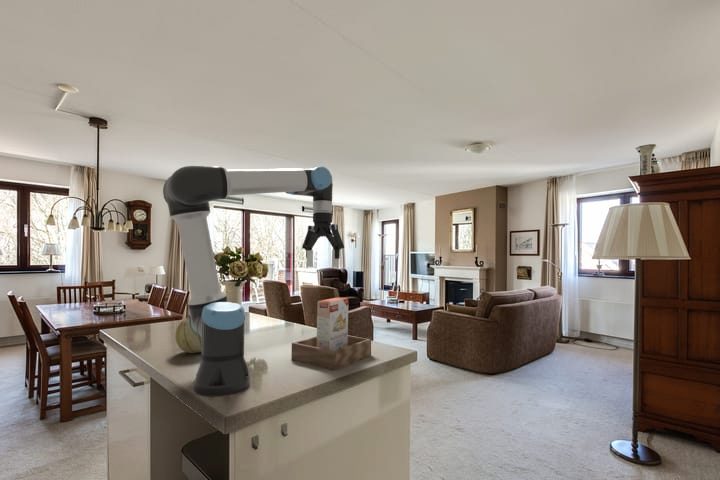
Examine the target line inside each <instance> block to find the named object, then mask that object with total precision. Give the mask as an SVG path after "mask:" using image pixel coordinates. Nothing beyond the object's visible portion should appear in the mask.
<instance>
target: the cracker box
mask: <svg viewBox="0 0 720 480" xmlns="http://www.w3.org/2000/svg"><path fill="white" fill-rule="evenodd" d="M316 308H317V309H316V312H317V313H316V336H317V346H316V347H318V348H323V349H328V350H332V351H335V350H338V349H341V348H344V347H346V346H348V335H349V298H346V297H333V298H327V299H323V300H318V301H317V305H316Z"/></svg>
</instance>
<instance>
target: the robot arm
mask: <svg viewBox="0 0 720 480" xmlns="http://www.w3.org/2000/svg"><path fill="white" fill-rule="evenodd" d="M333 185H334V184H333V175H332V174H331V172H330V170H329V169H328V168H326V167H325V166H314V167H313V168H274V169H273V168H269V169H267V168H265V169H263V168H262V169H261V168H260V169H259V168H258V169H257V168H256V169H254V168H253V169H227V168H225V167H224V166H222V165H221V166H215V165H186V166H183V167H180V168H178V169H176V170H175V171H174V172H173V173H172V175H170V176H169V177H168V178H167V179H166V180H165V182H164V184H163V188H162V196H163V199H164V201H165V202H166V204H167V207H168V212H169V216H170V218H171V219H172V220H173V221H175V222H176V223H177V228H178V234H179V240H180V244H181V249H182V254H183V255H182V256H183V259H184V260H183V261H184V263H185V269H186V273H187V279H188V280H187V281H188V284H189V290H190V295H191V298H190V299H189V300H188V302H187V306H188V311H189V315H190V317H189V325H190V328H191V330H192V332H193V333H194V334H195V335H196V336H197V337H199V338H201V339H202V345H201V352H200V353H201V356H200V357H201V358H200V359H201V360H200V364H199V367H198V369H197V372H196V375H195V378H194V380H193V392H194V393H195V394H198V395H199V396H200V395H201V396H208V397H217V396H218V397H219V396H226V395H231V394H235V393H238V392H240V391H243V390H245V389H246V388H248V387H249V386H250V384H251V375H250V373H249V369H248V365H247V362H246V359H245V330H246V329H245V328H246V327H245V325H246V324H245V323H246V315H245V314H246V313H245V308H244V306H243V305H242V304H240V303H237V302H230V301H228V297H227V294H226V293H225V292H224V291H222V290H221V286H220V280H219V276H218V271H217V266H216V261H215V255H214V250H213V246H212V245H213V244H212V240H211V234H210V230H209V229H210V228H209V224H208V219H207V218H208V216H209V215H210V213H211V208H210V202H211V201H217V200H218V201H219V200H226V199H227V198H228V197H229V196H240V195H243V196H244V195H257V194H258V195H259V194H274V193H275V194H276V193H285V194H288V195H292V196H305V197H312V212H313V214H312V222H313V224H314V225H308V226H307V232H306V235H305V237H304V241H303V244H302V247H301V248H302V249H304V250H305V258H306V268H309V267H310V268H313V267H314V250H313V248H314V246H315V245H316V243H317V242H318V240H319V239H320V238H321V237H325V238H326V239H327V240H328V242H329V245H331V247H332V251H331V253H332V254H331V255H332V256H331V259H332V260H331V268H333V269H334V268H339V259H340V256H341V255H340V253H341V250H342V249H344V248H345V245H344V242H343V239H342V237H341V235H340V232H339V227H338V225H339V224H337V223H335V224H334V223H333V214H332V212H333Z"/></svg>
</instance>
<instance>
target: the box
mask: <svg viewBox="0 0 720 480" xmlns="http://www.w3.org/2000/svg"><path fill="white" fill-rule="evenodd" d="M316 346H317V335H316V336H312V337H309V338H305V339H301V340H298V341H295V342H291V360H292V361H295V362H298V363H299V362H300V363H302V364H303V363H304V364H308V365H311V366H315V367H319V368H323V369H327V370H330V371H336V370H338V368H339V369H341V368H343V367H345V365H346V366H348V365H351V364H353V363H355V362H358V361H360V359H361V360H363V359H365V358H368V357H370V356H372V338H367V337H359V336H356V335H349V334H348V346H346V347H344V348H341V349H338V350H335V351H332V350H328V349H323V348H318V347H316ZM350 363H351V364H350ZM340 367H341V368H340Z"/></svg>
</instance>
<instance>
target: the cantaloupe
mask: <svg viewBox="0 0 720 480" xmlns="http://www.w3.org/2000/svg"><path fill="white" fill-rule="evenodd" d="M189 317H190V314H188V315H187V317H186V318H185V317H184V318H183V319H182V320H181V321H180V322H179V324H178V325H177V326H176V329H175V336H174V337H175V342H176V344H177V346H178V347H179V349H180V350H181V351H182V352H185V353H188V354H198V353H201V345H202V339H201V338H199V337H197V336H196V335H195V334H194V333H193V332H192V330H191V328H190V325H189Z"/></svg>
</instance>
